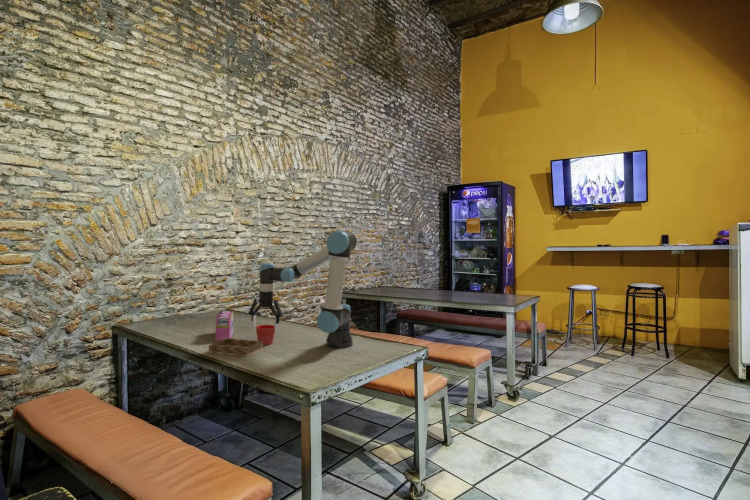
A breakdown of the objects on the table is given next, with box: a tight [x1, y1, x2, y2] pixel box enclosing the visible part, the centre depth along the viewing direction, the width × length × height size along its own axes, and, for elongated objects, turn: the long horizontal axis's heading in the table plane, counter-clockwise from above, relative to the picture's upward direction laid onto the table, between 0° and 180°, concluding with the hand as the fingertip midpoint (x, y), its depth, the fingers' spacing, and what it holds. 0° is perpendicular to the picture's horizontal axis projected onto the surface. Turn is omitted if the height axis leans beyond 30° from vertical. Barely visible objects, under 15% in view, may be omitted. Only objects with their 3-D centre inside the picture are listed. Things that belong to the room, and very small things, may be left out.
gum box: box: [214, 310, 234, 342], centre depth 252 cm, size 24×8×14 cm, turn 13°
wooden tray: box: [208, 337, 264, 358], centre depth 221 cm, size 22×16×4 cm
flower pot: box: [255, 324, 276, 346], centre depth 237 cm, size 11×11×10 cm
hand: (265, 328), depth 237 cm, fingers open, 13 cm apart
